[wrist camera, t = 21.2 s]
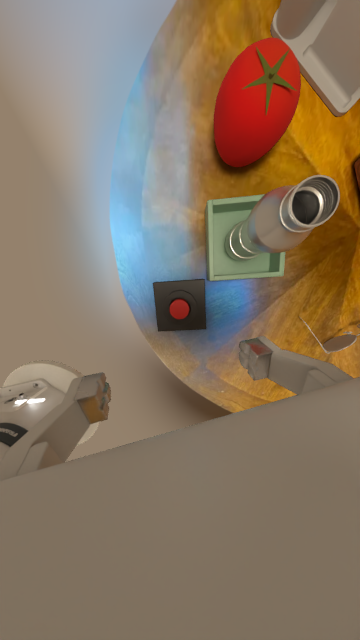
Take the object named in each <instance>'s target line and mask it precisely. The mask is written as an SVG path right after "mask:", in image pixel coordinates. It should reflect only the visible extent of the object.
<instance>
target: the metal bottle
mask: <svg viewBox="0 0 360 640" xmlns="http://www.w3.org/2000/svg"><path fill="white" fill-rule="evenodd" d="M339 199H340V191H339V188H338V185H337V184H336V182H335V181H334V180H333V179H332V178H330V177H328V176H325V175H315V176H312V177H309V178H307V179H305V180H304V181H302V182H301V183H300V184H298V185H296V186H293V185H289V186H283V187H280V188H277V189H274V190H272V191H270V192H268V193H267V194H265V195H264V196H263V197H262V198H261V199H260V200H259V201H258V202H257V204H256V205H255V206H254V208H253V209H252V211H251V213H250V215H249V216H248V218H247V219H246V220H245V221H242V222H240V223H238V224H236V225H235V226H233V227H232V228H231V229H230V231H229V232H228V234H227V237H226V241H225V248H226V251H227V253H228V255H229V256H230V257H231V258H233V259H235V260H238V261H248V260H251V259H253V258H255V257H257V256H258V255H259V254H260V253H281V252H285V251H289V250H291V249H293V248H294V247H296V246H297V245H299V244H300V243H301V242H302V241H303V240H304V239H305V238H306V237H307V236H308V235H309V234H310V232H311V231H312V229H313V228H314V227H316V226H319V225H321V224H322V223H324V222H325V221H327V220H328V219H329V218H330V217H331V216H332V215H333V214H334V212H335V211H336V209H337V207H338V204H339Z"/></svg>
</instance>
